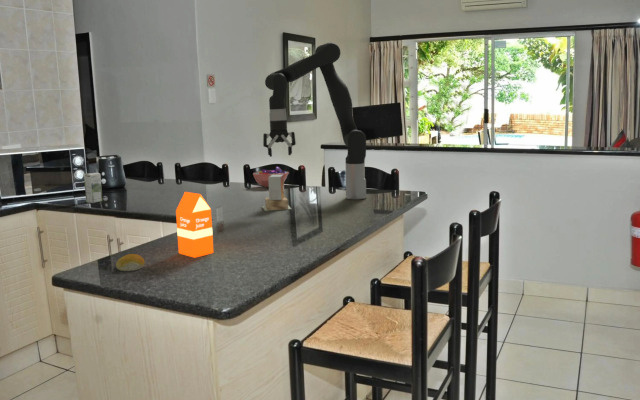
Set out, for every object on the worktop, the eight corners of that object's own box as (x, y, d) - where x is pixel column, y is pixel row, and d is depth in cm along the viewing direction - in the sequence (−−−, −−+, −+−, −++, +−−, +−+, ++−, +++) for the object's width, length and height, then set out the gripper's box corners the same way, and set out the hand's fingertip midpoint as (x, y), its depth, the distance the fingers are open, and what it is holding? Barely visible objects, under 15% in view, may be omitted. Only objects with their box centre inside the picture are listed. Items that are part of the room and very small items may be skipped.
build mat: (288, 206, 269) (288, 204, 269) (291, 210, 260) (291, 208, 260) (262, 207, 267) (262, 206, 267) (264, 211, 257) (264, 210, 257)
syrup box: (96, 200, 296) (93, 172, 294) (103, 201, 293) (100, 172, 290) (85, 202, 291) (83, 173, 289) (92, 203, 288) (90, 174, 286)
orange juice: (194, 257, 186) (190, 195, 182) (178, 253, 191) (174, 193, 188) (214, 252, 191) (210, 192, 188) (197, 248, 197) (194, 190, 194)
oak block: (284, 205, 268) (284, 196, 268) (288, 208, 260) (287, 199, 259) (265, 206, 267) (265, 197, 266) (267, 210, 258) (267, 201, 257)
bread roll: (144, 262, 183) (143, 249, 182) (145, 270, 174) (144, 257, 174) (116, 265, 180) (115, 252, 180) (115, 273, 172) (114, 260, 171)
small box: (281, 200, 258) (280, 176, 256) (268, 200, 259) (268, 176, 257) (284, 197, 266) (284, 174, 264) (272, 197, 267) (271, 174, 265)
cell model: (253, 185, 335) (252, 165, 333) (288, 184, 337) (287, 164, 335) (253, 190, 319) (252, 169, 317) (290, 188, 321) (289, 168, 319)
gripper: (292, 118, 264) (294, 154, 267) (261, 120, 261) (263, 156, 264) (295, 118, 257) (297, 155, 260) (263, 120, 254) (265, 157, 257)
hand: (280, 155), depth 262 cm, fingers open, 8 cm apart
